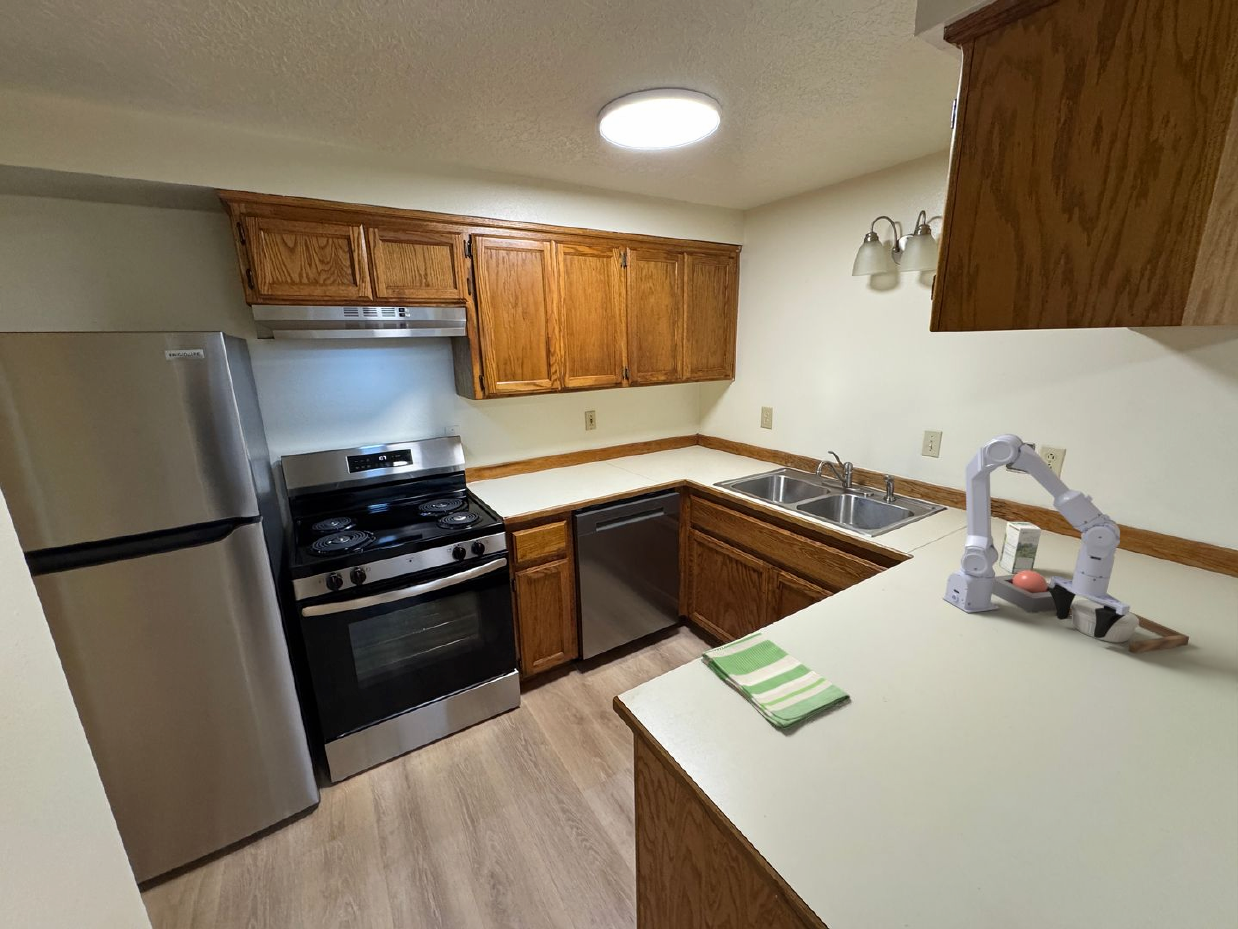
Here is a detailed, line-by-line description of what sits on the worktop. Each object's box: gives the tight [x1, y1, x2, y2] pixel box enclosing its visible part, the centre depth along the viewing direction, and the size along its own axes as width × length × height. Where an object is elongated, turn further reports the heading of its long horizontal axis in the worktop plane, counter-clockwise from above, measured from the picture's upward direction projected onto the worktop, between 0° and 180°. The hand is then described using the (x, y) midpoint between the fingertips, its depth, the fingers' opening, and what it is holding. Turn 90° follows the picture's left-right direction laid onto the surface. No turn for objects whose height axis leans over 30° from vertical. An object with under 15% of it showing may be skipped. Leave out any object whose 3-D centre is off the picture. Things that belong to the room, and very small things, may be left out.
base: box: [992, 573, 1056, 614], centre depth 127 cm, size 12×12×4 cm
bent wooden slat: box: [1055, 607, 1190, 654], centre depth 113 cm, size 15×16×2 cm
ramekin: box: [1071, 599, 1139, 643], centre depth 112 cm, size 11×11×5 cm
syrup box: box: [998, 521, 1042, 575], centre depth 143 cm, size 6×6×14 cm
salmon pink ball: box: [1013, 570, 1048, 593], centre depth 127 cm, size 7×7×7 cm
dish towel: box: [700, 631, 851, 731], centre depth 97 cm, size 18×23×3 cm
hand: (1080, 627), depth 111 cm, fingers open, 7 cm apart
